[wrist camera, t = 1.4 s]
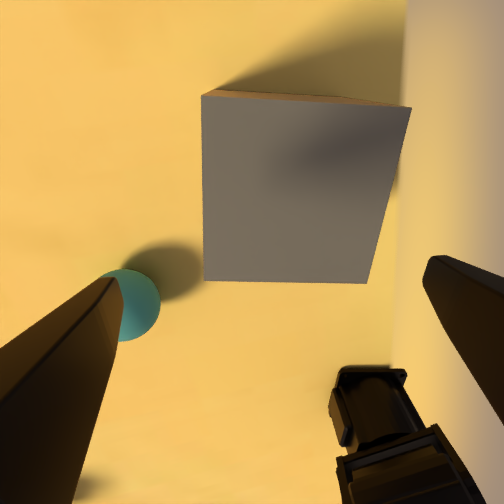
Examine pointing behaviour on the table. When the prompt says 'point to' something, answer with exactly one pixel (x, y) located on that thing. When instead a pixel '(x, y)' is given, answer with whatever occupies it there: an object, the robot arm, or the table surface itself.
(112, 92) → the table surface
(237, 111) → the grey block
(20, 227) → the table surface
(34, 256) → the table surface
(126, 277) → the ball
